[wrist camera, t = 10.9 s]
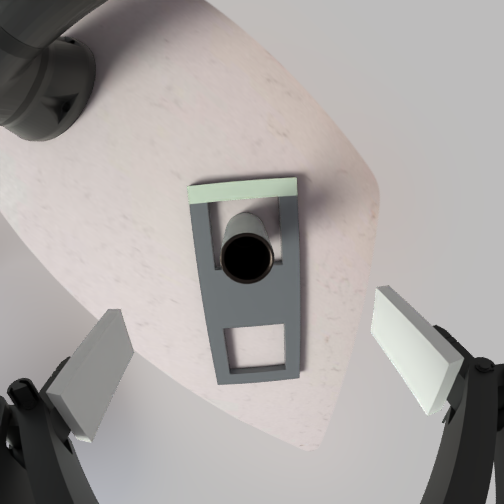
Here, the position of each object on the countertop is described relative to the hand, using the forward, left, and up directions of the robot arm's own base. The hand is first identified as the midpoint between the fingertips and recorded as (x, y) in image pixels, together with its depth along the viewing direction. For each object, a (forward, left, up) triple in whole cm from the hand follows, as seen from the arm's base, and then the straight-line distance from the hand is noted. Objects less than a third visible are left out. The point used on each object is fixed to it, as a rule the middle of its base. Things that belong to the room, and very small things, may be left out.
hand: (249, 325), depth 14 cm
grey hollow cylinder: (0, 0, -21) cm, 21 cm away
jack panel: (+8, 0, -21) cm, 22 cm away
